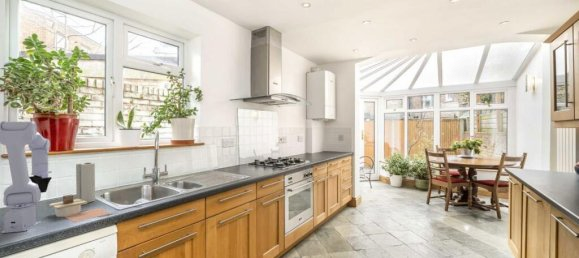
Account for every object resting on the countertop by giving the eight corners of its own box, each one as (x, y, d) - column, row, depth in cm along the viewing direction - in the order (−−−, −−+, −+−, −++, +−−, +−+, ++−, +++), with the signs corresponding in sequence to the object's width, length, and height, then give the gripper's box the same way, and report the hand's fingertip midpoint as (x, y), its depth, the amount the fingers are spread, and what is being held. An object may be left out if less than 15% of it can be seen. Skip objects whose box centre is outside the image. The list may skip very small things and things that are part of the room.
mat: (111, 213, 122) (111, 213, 122) (75, 223, 110) (75, 222, 110) (98, 208, 130) (98, 208, 130) (63, 217, 118) (63, 216, 118)
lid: (87, 203, 124) (86, 194, 124) (57, 209, 115) (57, 200, 115) (77, 199, 130) (77, 191, 130) (49, 205, 121) (49, 196, 120)
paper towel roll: (98, 200, 145) (97, 162, 145) (88, 203, 139) (88, 164, 139) (86, 199, 146) (85, 162, 145) (76, 203, 140) (75, 163, 139)
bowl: (74, 216, 119) (74, 206, 119) (51, 218, 117) (50, 208, 117) (84, 210, 128) (84, 201, 128) (62, 211, 125) (62, 202, 125)
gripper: (56, 163, 123) (56, 191, 124) (46, 161, 131) (46, 187, 131) (36, 165, 117) (36, 194, 118) (26, 162, 125) (27, 190, 125)
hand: (40, 191), depth 124 cm, fingers open, 7 cm apart
